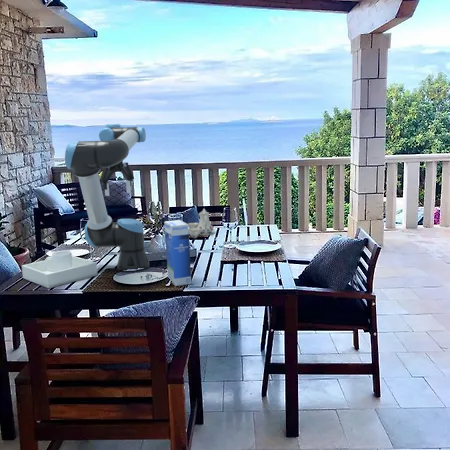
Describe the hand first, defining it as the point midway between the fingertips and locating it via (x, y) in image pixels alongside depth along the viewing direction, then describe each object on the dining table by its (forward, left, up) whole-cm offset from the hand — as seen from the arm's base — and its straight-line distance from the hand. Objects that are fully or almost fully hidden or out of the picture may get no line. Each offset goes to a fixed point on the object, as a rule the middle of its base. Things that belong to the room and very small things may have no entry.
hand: (118, 194), depth 262 cm
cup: (-15, +45, -31) cm, 57 cm away
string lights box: (-64, +16, -32) cm, 73 cm away
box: (-15, +45, -32) cm, 57 cm away
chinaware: (-2, -57, -32) cm, 66 cm away
